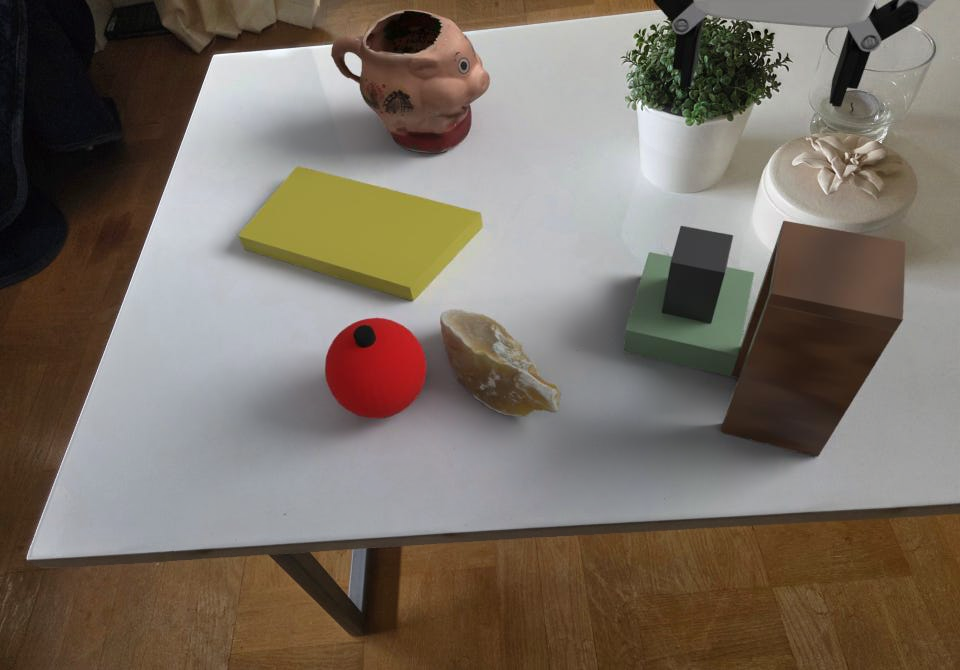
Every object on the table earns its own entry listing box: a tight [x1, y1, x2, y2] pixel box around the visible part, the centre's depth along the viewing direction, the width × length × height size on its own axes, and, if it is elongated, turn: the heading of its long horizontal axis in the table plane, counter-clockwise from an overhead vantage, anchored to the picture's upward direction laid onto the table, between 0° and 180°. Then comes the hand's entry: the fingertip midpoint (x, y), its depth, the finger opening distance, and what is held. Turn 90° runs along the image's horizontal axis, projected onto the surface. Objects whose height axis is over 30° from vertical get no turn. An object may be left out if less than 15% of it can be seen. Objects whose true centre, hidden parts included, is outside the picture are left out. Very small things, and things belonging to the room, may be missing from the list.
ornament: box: [324, 317, 427, 420], centre depth 65 cm, size 9×9×10 cm
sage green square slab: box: [622, 251, 755, 378], centre depth 69 cm, size 10×10×4 cm
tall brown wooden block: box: [720, 220, 907, 458], centre depth 57 cm, size 8×7×19 cm
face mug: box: [330, 9, 491, 154], centre depth 86 cm, size 20×12×14 cm, turn 74°
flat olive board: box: [237, 165, 483, 302], centre depth 81 cm, size 12×2×24 cm
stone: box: [439, 308, 562, 418], centre depth 66 cm, size 7×6×15 cm
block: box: [662, 225, 734, 323], centre depth 65 cm, size 4×4×7 cm
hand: (760, 85), depth 50 cm, fingers open, 9 cm apart
